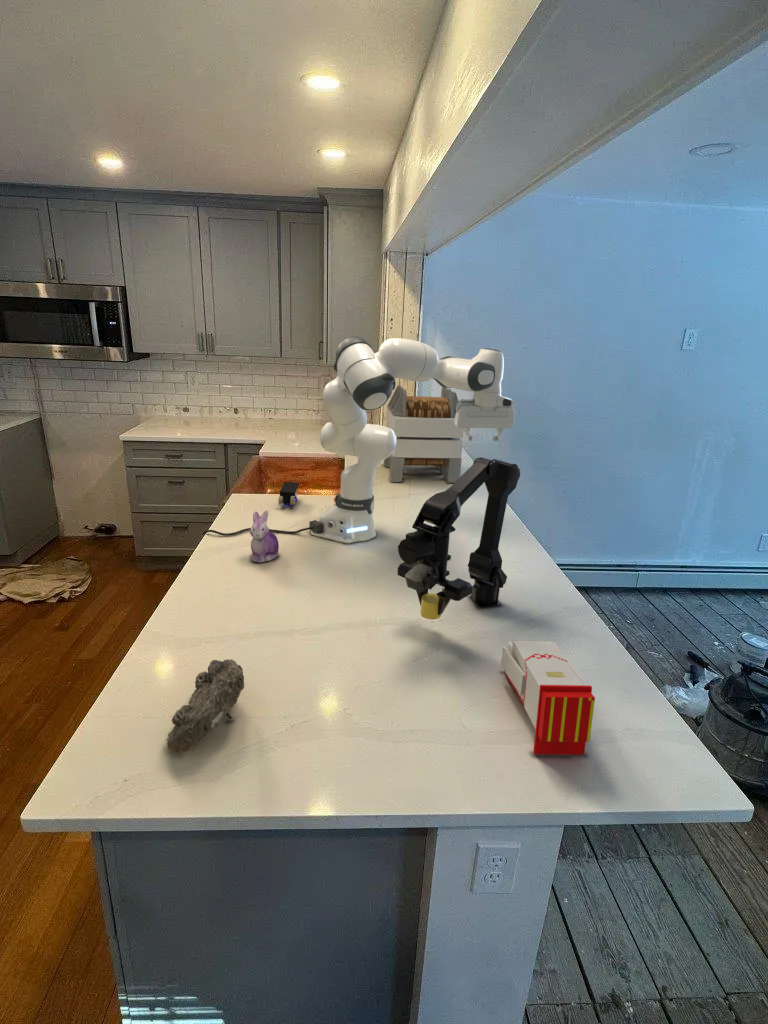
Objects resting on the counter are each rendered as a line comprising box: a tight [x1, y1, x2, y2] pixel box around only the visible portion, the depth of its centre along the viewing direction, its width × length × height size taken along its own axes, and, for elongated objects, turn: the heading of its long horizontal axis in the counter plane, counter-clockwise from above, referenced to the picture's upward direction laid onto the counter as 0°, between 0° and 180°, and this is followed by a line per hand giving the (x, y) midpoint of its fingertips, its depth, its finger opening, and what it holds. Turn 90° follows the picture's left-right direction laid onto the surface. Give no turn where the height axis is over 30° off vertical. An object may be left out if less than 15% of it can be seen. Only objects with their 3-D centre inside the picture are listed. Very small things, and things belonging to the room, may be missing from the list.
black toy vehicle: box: [278, 481, 300, 510], centre depth 223 cm, size 7×8×15 cm
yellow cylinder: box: [420, 592, 442, 620], centre depth 138 cm, size 5×5×4 cm
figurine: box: [249, 509, 280, 563], centre depth 174 cm, size 9×10×15 cm
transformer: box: [382, 384, 465, 484], centre depth 268 cm, size 34×33×41 cm
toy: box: [500, 640, 596, 756], centre depth 114 cm, size 12×13×30 cm
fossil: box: [166, 658, 245, 754], centre depth 106 cm, size 22×10×15 cm
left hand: (482, 440), depth 191 cm, fingers open, 8 cm apart
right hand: (431, 610), depth 138 cm, fingers closed on yellow cylinder, 5 cm apart
